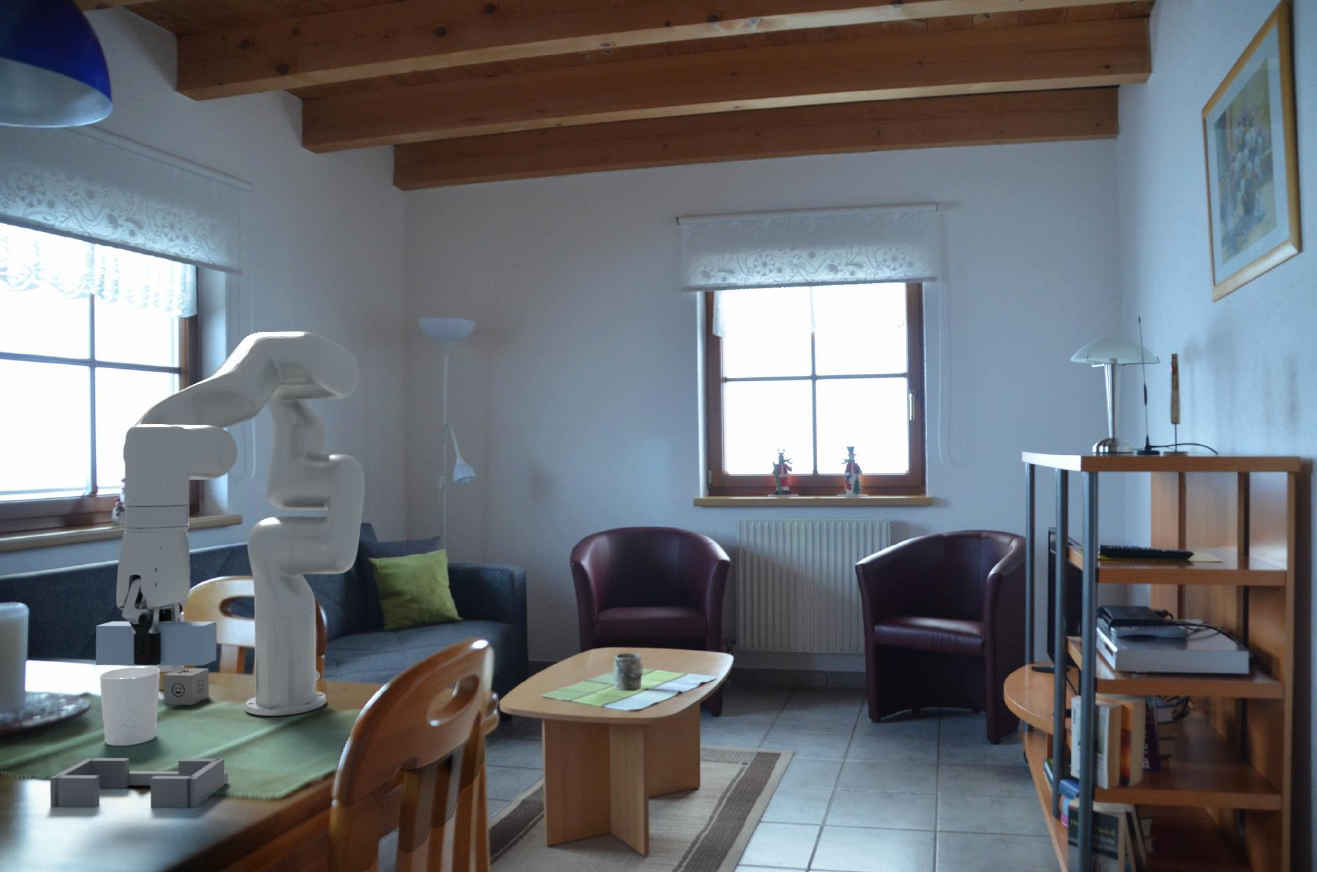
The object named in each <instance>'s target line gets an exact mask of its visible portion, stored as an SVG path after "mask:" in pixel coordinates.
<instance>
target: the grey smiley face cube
mask: <svg viewBox="0 0 1317 872" xmlns="http://www.w3.org/2000/svg"><path fill="white" fill-rule="evenodd" d="M209 675H210V674H209V668H205V667H204V668H201V667H200V668H198V667H195V668H192V667H184V668H180V669H178V670H175V671H173V672H170V673H168V674H165V675H164V690H163V691H164V692H163V698H164V699H163V702H164V703H163V704H164V705H179V706H181V705H182V706H183V705H184V706H187V705H188V706H193V705H194V704H195V705H196V704H198V703H200V702H202V701H204V700H205V699H208V698H209V696H210V694H209V691H210V690H209V688H210V684H209V683H210V682H209Z"/></svg>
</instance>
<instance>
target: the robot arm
mask: <svg viewBox="0 0 1317 872" xmlns="http://www.w3.org/2000/svg"><path fill="white" fill-rule="evenodd" d="M359 380H360V371H359V366H358V363H357V360H356V358H355V357H354V355H353V354H352V353H351V352H350V351H349V350H348V349H346V347H343V346H342V345H340V344H338V343H336V342H335V341H333V340H331V339H329V338H327V337H325V336H323V335H320V334H318V333H315V332H312V331H311V332H310V331H275V332H273V331H271V332H267V331H265V332H257V333H253V334H250V335H248V336H246V337H244V338H243V340H241V341H240V342H239V344H237V345H236V347H235V348H234V350H233V351H232V352H231V353H230V354H229V355H228V356H227V357H226V358H225V360H224V361H223V362H222V363H221V365H220V366H219V367H218V368H217V369H216V371H215V372H214V373H213V374H212V375H211V376H210V377H209V378H206V379H204V380H201V381H199V382H197V383H195V384H192V385H190V386H188V387H186V388H184V389H181V390H178V391H177V392H175V393H172V394H171V395H169V396H167V397H165V398H163V399H161V400H159V401H158V402H156V403H155V404H153V405H152V406H151V407H150V408H148V410H147V411H146V412H145V413H144V414H143V415H142V416H141V418H139V420H138V421H136V423H135V424H134V425H133V426H132V427H130V428H128V430H127V431H126V434H125V441H124V444H123V452H122V453H123V454H122V455H123V461H124V462H123V463H124V532H123V534H122V538H121V543H120V549H119V556H118V563H117V564H118V566H117V576H116V577H117V578H116V595H115V597H116V607H117V608H118V609H120V610H122V612H121V614H122V615H121V616H122V617H123V619H125V620H126V621H127V622H129V623H130V624H131V626H132V634H134V664H135V665H134V666H157V665H158V664H160V661H161V633H157V630H158V622H180V614H181V612H183V609H184V607H185V606H186V604H187V603H188V600H189V599H188V598H189V596H190V590H191V558H190V557H191V555H190V545H189V537H188V530H190V480H191V481H192V480H195V481H196V480H197V481H198V480H199V481H200V480H201V481H202V480H203V481H204V480H205V481H206V480H214V479H218V478H222V477H223V476H226V474H228V473H229V472H230V471H232V469H233V467H234V466H235V464H236V461H237V459H238V447H237V443H236V441H235V439H234V437H233V436H232V435H231V434H230V433H229V432H228V430H226V429H227V428H230V427H232V426H233V427H234V426H237V425H239V424H242V423H246V422H248V421H250V420H252V419H255V417H256V416H258V414H259V413H260V412H261V411H262V410H263V408H264V406H265V405H266V406H267V408H268V409H269V413H270V415H271V418H272V422H273V429H274V430H273V440H272V448H271V452H270V453H271V454H270V460H269V466H268V467H269V468H268V473H267V474H268V475H267V481H266V496H267V499H268V501H269V503H270V504H271V505H272V506H274V507H275V508H278V509H281V510H288V511H327V516H307V515H302V516H301V515H300V516H298V515H297V516H295V515H294V516H293V515H288V516H286V515H285V516H284V515H282V516H281V515H279V516H272V517H267V518H263V519H262V520H260V521H258V522H257V523H255V525H253V527H252V528H251V529H250V531H249V533H248V537H247V554H248V559H249V564H250V568H251V574H252V581H253V592H254V593H253V594H254V681H255V683H254V692H255V693H254V694H255V696H252V697H251V698H249V699H248V700H246V701H245V703H244V705H245V707H244V708H245V712H247V713H249V714H250V715H255V716H261V717H262V716H264V717H266V716H267V717H269V716H270V717H275V716H276V717H278V716H279V717H280V716H288V715H299V714H302V713H308V712H310V711H314V710H316V709H320V708H321V707H323V706H324V705H325V704H327V703H326V702H327V695H326V694H325V693H324V692H321V691H318V690H317V681H318V680H319V679H320V678H321V674H320V672H319V671H318V670H317V657H316V656H317V652H316V651H317V649H316V648H317V647H316V646H317V645H316V642H317V641H316V640H317V639H316V638H317V636H316V632H317V631H316V618H317V616H316V615H317V614H316V610H317V609H316V607H317V606H316V598H315V593H314V592H313V590H312V588H311V586H310V585H309V583H308V581H307V580H306V578H305V577H304V575H338V574H339V575H340V574H343V573H346V572H349V570H350V569H352V567H353V566H354V564H355V562H356V559H357V555H358V550H359V542H360V535H361V525H362V518H363V516H362V515H363V508H364V500H365V488H366V487H365V484H366V483H365V473H364V471H363V467H362V465H361V463H360V462H359V460H358V459H356V458H355V457H354V456H351V455H348V454H344V453H343V454H342V453H325V449H326V439H327V428H326V425H325V423H324V421H323V419H322V417H321V416H320V415H319V413H318V411H316V409H314V408H313V406H312V405H311V404H310V402H309V401H308V400H341V399H342V400H343V399H345V398H348V397H350V396H352V395H353V393H355V391H356V389H357V388H358V385H359ZM143 606H146V607H147V608H142V607H143ZM146 614H149V617H148V616H147V615H146Z"/></svg>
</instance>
